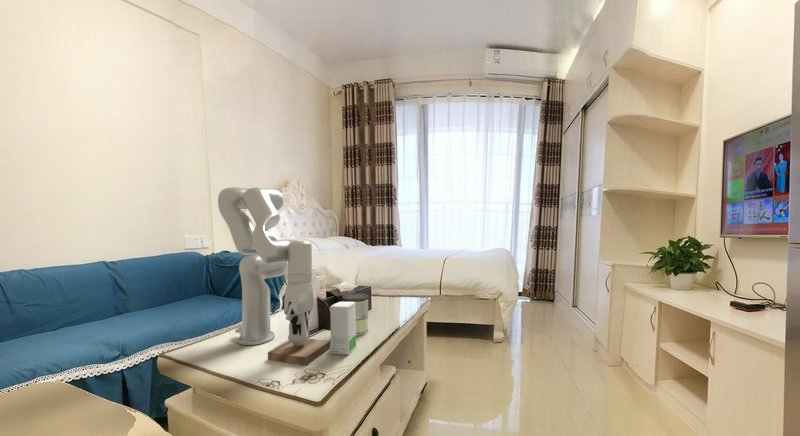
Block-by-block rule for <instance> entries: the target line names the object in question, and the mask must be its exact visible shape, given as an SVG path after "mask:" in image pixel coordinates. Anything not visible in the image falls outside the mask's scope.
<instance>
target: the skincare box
mask: <svg viewBox="0 0 800 436" xmlns="http://www.w3.org/2000/svg"><path fill="white" fill-rule="evenodd" d="M329 308H330V309H329V310H330V315H329V316H330V355H341V356H349V355H350V354H351V353H352V351H353V350H354V349H355V348H356V347H357V336H356V310H355V302H343V301H338V302H336V303H333V304H332V305H331V306H330V307H329Z"/></svg>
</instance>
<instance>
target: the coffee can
mask: <svg viewBox="0 0 800 436" xmlns="http://www.w3.org/2000/svg"><path fill="white" fill-rule="evenodd" d="M341 298H342V302H355V310H356V337H357V336H363V335H365V334H367V333H368V332H369V295H368V294H367V293H362V292H361V293H359V292H358V293H357V292H354V293H353V292H352V293H347V294H344V295H342V297H341Z"/></svg>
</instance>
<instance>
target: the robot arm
mask: <svg viewBox="0 0 800 436" xmlns="http://www.w3.org/2000/svg"><path fill="white" fill-rule="evenodd" d="M217 197H218V198H217V206H218V210H219V213H220V216H221V217H222V219H223V220H224V222H225V223H226V225H227V227H228V229H229V232H230V235H231V238H232V241H233V244H234V246H235V248H236V251H237V252H238V253H239V254H240V255H245V256H244V257H243V258H242V259H241V260H240V262H239V265H238V270H239V275H240V281H241V292H242V293H241V296H242V297H241V300H242V304H241V306H242V307H241V310H242V311H241V313H242V314H241V316H242V318H241V319H242V321H241V322H242V325H238V327H237V328H235V330H234V331H235V333H236V334H239V336H238V338H237V344H239V345H243V346H255V345H261V344H266V343H268V342H270V341H272V340H274V338H275V335H276V334H275V332H273V331H271V289H270V287H269V285H268V284H267V283H266V281H265V279H270V278H277V277H281V276H283V275H284V274H286V273H287V284H286V287H285V292H284V301H283V302H284V303H283V304H284V305H283V313H284V315H286V316H285V320H286V321H289V323H290V322H291V324H292V328H293V334H294V335H296V334H297V333H298V330H299V335H300V336H301V324H300V314H302V313H305V319H306V325H307V331H308V321H307V320H309V319H310V315H311V312H312V311H313V307H314V290H313V281H312V280H313V279H312V278H313V277H312V275H313V273H312V272H313V269H312V267H313V265H312V263H313V260H312V259H313V253H312V250H313V249H312V248H313V247H312V242H310V241H309V240H298V239H279V237H278V235H277V234H276V233H275V232H273V231H272V230H271V229H273V228H274V227H276V226H277V225H278V224H279V223H280V220H281V216H280V215H281V214H280V213H279V212H278V211H279V210H280V209H281V208H283V205H284V197H283V195H282V193H281V192H280V191H279V190H277V189H275V188H268V187H267V188H266V187H265V188H264V187H251V188H247V187H237V186H236V187H235V186H233V187H232V186H231V187H226V188H224V189H221V190H220V192H219V193H218V195H217ZM242 210H247V211H248V212H249V214H250V216H251V217H252V219H253V221H254V223H255V226H254V224H253V221H252V219H251V217H249V216H248V214H247V213H245V212H244V211H242ZM294 316H295V317H297V319H296V318H295V317H294Z"/></svg>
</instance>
